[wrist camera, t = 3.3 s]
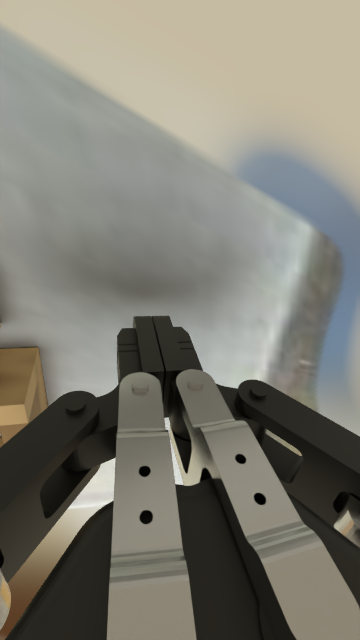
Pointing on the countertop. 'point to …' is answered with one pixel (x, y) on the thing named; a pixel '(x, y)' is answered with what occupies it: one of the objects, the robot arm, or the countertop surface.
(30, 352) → the brown square frame
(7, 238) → the countertop surface
